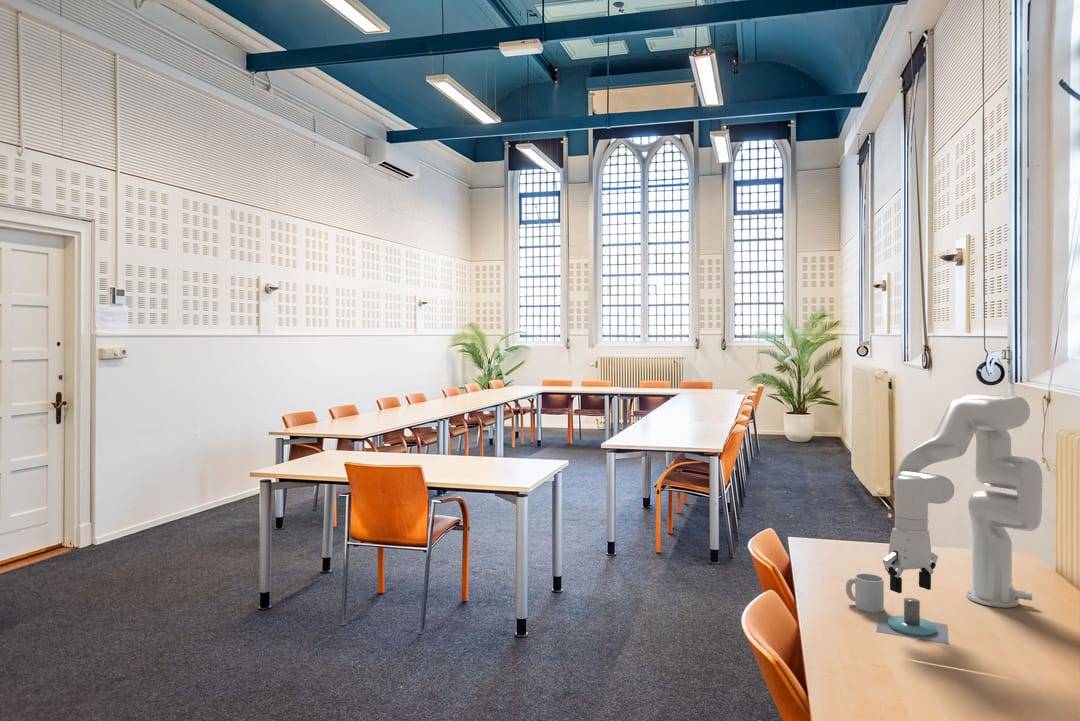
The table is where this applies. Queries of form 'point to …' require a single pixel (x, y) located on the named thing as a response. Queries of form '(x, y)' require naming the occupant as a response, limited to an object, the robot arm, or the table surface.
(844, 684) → the table surface
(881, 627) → the mat
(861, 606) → the cup
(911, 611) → the lid
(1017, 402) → the robot arm
